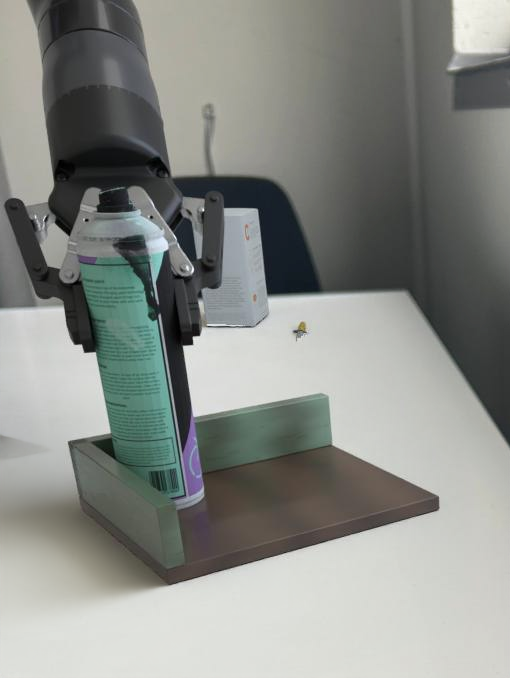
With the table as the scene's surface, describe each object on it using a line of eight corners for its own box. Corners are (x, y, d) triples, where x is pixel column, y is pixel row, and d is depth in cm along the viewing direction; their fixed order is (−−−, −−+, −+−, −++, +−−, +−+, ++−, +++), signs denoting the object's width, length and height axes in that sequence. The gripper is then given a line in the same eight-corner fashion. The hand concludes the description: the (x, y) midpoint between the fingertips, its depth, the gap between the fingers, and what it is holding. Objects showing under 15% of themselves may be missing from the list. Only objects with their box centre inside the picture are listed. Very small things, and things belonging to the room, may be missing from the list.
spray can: (221, 494, 72) (178, 186, 62) (160, 519, 68) (104, 194, 58) (169, 478, 75) (120, 181, 65) (107, 502, 71) (45, 189, 61)
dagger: (307, 345, 118) (289, 342, 118) (306, 353, 118) (288, 350, 118) (311, 322, 127) (295, 318, 127) (310, 329, 127) (294, 326, 127)
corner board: (169, 584, 62) (156, 507, 59) (81, 509, 73) (67, 441, 70) (439, 509, 72) (437, 440, 70) (326, 453, 83) (321, 392, 81)
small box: (222, 314, 134) (209, 207, 128) (270, 314, 134) (259, 207, 128) (204, 327, 127) (189, 215, 121) (254, 327, 127) (242, 215, 121)
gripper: (-24, 82, 64) (3, 315, 59) (211, 79, 67) (253, 298, 63) (4, 170, 71) (30, 384, 66) (216, 163, 74) (253, 365, 70)
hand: (138, 341), depth 65 cm, fingers closed on spray can, 5 cm apart
